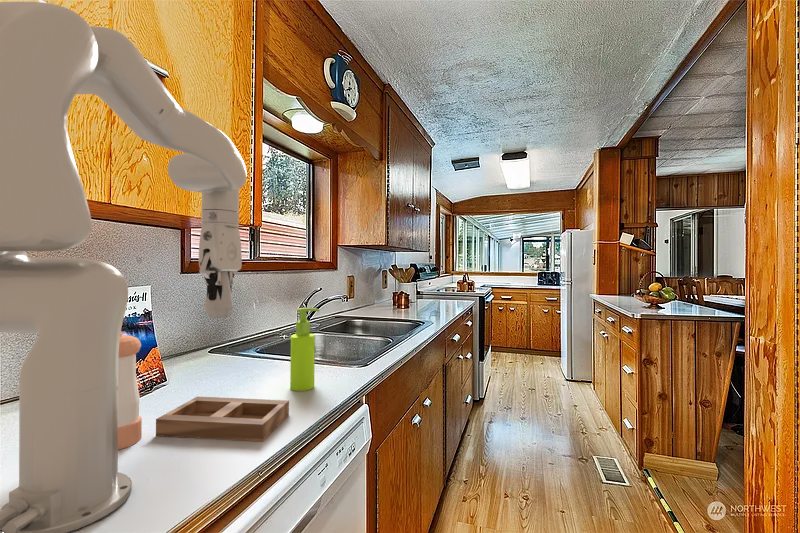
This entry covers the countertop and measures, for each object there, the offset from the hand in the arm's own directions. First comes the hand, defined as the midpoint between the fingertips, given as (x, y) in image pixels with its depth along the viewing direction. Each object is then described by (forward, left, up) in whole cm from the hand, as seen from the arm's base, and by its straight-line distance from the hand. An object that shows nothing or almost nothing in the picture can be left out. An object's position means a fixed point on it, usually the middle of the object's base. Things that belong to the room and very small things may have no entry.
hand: (219, 302), depth 86 cm
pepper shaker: (-20, +7, -23) cm, 31 cm away
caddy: (-11, -8, -23) cm, 26 cm away
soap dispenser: (+13, -15, -23) cm, 30 cm away
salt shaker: (0, 0, -4) cm, 4 cm away
